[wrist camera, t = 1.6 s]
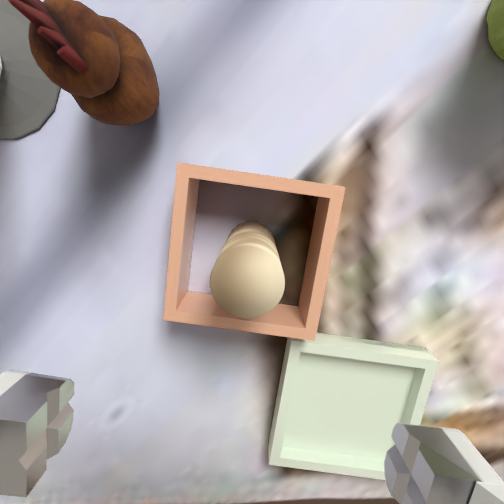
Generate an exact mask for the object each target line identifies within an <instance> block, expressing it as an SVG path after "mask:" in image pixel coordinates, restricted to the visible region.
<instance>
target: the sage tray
mask: <svg viewBox="0 0 504 504" xmlns="http://www.w3.org/2000/svg"><path fill="white" fill-rule="evenodd" d="M437 365H438V360H437V359H436V358H435V357H434V356H433V355H432V354H431V353H430V352H429V351H428V350H427V349H426V348H424V347H417V346H410V345H403V344H395V343H388V342H381V341H374V340H367V339H359V338H352V337H345V336H338V335H331V334H323V333H316V338H315V341H311V340H304V339H297V338H290V337H287V343H286V349H285V354H284V360H283V365H282V371H281V376H280V382H279V388H278V393H277V399H276V404H275V410H274V415H273V421H272V426H271V432H270V438H269V443H268V456H269V465H275V466H283V467H290V468H298V469H306V470H313V471H321V472H328V473H336V474H343V475H351V476H359V477H366V478H374V479H381V480H386V479H385V471H384V461H385V457H386V453H387V451H388V450H389V449H390V448H391V447H392V446H394V445H395V443H394V441H393V439H392V437H391V435H392V431H393V428H394V426H395V425H396V424H397V423H404V424H412V425H420V423H421V420H422V416H423V413H424V409H425V406H426V402H427V399H428V396H429V392H430V389H431V385H432V382H433V379H434V375H435V372H436V368H437Z"/></svg>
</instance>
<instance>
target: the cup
mask: <svg viewBox="0 0 504 504" xmlns="http://www.w3.org/2000/svg"><path fill="white" fill-rule="evenodd" d="M30 22H31V21H30V20H28V19H27V18H26V17H25V16H24V15H23V14H22V13H21V12H19V11H18V10H17V9H16V8H15V7H14V6H13V5H12V4H11V3H10V2H9V1H8V0H0V139H18V138H21V137H23V136H25V135H27V134H29V133H31V132H33V131H35V130H37V129H39V128H40V127H41V126H42V124H43V123H44V122H45V121H46V119H47V118H48V117H49V116H50V114H51V113H52V112H53V111H54V109H55V105H56V101H57V97H58V94H59V90H60V87H59V86H57V85H56V84H54V83H53V82H52V81H51V80H50V79H49V78H48V77H47V76H46V75H45V73H44V72H43V71H42V70H41V69H40V68H39V67H38V65H37V63H36V61H35V59H34V57H33V55H32V53H31V50H30V44H29V38H28V34H29V24H30Z"/></svg>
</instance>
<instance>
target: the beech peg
mask: <svg viewBox="0 0 504 504" xmlns="http://www.w3.org/2000/svg"><path fill="white" fill-rule="evenodd" d="M210 288H211V292H212V295H213V297H214V299H215V301H216V302H217V304H218V305H219V306H220V307H221V308H222V309H223V310H224V311H226V312H227V313H229V314H231V315H233V316H236V317H240V318H256V317H259V316H262V315H264V314H266V313H268V312H270V311H271V310H272V309H273V308H274V307H275V306H276V305H277V304H278V303H279V301H280V299H281V298H282V295H283V292H284V288H285V278H284V273H283V270H282V266H281V262H280V259H279V255H278V252H277V248H276V244H275V241H274V237H273V235H272V233H271V231H270V230H269V229H268V228H267V227H266V226H265V225H263V224H261V223H259V222H255V221H247V222H243V223H241V224H239V225H237V226H236V227H235V228H234V229H233V230H232V231H231V233H230V235H229V237H228V239H227V241H226V243H225V245H224V247H223V249H222V251H221V253H220V255H219V257H218V259H217V261H216V263H215V265H214V267H213V269H212V272H211V277H210Z"/></svg>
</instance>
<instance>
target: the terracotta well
mask: <svg viewBox="0 0 504 504" xmlns="http://www.w3.org/2000/svg"><path fill="white" fill-rule="evenodd" d="M200 179H202V180H208V181H215V182H222V183H229V184H236V185H243V186H250V187H257V188H264V189H271V190H277V191H284V192H291V193H298V194H305V195H312V196H318V201H317V206H316V212H315V217H314V223H313V228H312V234H311V239H310V245H309V250H308V256H307V261H306V266H305V272H304V277H303V283H302V288H301V294H300V299H299V305H298V306H292V305H285V304H277V305H276V306H275V307H274V308H273V309H272V310H271V311H270V312H268V313H266V314H264V315H262V316H259V317H256V318H240V317H236V316H233V315H231V314H229V313H227V312H226V311H224V310H223V309H222V308H221V307H220V306H219V305H218V304H217V302H216V301H215V299H214V297H213V295H212V294H206V293H199V292H192V291H188V287H189V277H190V268H191V258H192V249H193V239H194V230H195V220H196V211H197V201H198V192H199V182H200ZM345 188H346V187H342V186H336V185H329V184H322V183H315V182H308V181H301V180H294V179H288V178H281V177H274V176H267V175H260V174H253V173H246V172H239V171H233V170H226V169H219V168H212V167H205V166H198V165H191V164H184V163H178V162H177V170H176V181H175V192H174V204H173V215H172V226H171V237H170V248H169V259H168V271H167V282H166V293H165V304H164V315H163V320H167V321H174V322H181V323H188V324H196V325H203V326H210V327H217V328H225V329H232V330H239V331H246V332H254V333H261V334H268V335H275V336H283V337H290V338H297V339H304V340H311V341H315V338H316V333H317V328H318V323H319V318H320V313H321V308H322V303H323V298H324V293H325V288H326V283H327V278H328V273H329V268H330V263H331V258H332V253H333V248H334V243H335V238H336V233H337V228H338V223H339V218H340V213H341V208H342V203H343V198H344V193H345Z"/></svg>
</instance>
